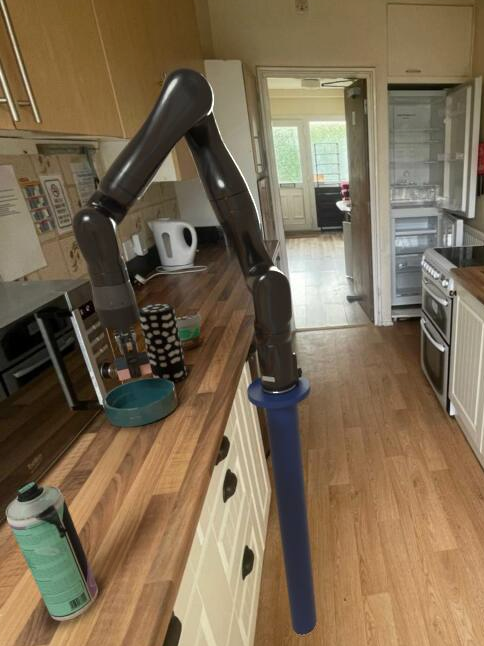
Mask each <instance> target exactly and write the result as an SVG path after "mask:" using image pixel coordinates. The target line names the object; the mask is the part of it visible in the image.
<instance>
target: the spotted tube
mask: <svg viewBox="0 0 484 646" xmlns="http://www.w3.org/2000/svg"><path fill="white" fill-rule="evenodd" d="M138 310H139V314H140V320H139V322H140V327H141V331H142V335H143V336H142V337H143V339H144V343H145V348H146V354H147V356H148V359H149V363H150V367H151V371H152V373H151V374H152V378H163V379H168V380H170V381H172V382H173V383H175V382H178V381H181V380H183V379H185V377H187V375H188V372H187V368H186V367H187V366H186V361H185V356H184V350H182V346H181V341H180V336H179V331H178V326H177V321H176V318H177V316H176V311H175V306H174V304H172V303H170V302H155V303H149V304H145V305H143V306H140V307H138Z"/></svg>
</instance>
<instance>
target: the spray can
mask: <svg viewBox="0 0 484 646" xmlns="http://www.w3.org/2000/svg"><path fill="white" fill-rule="evenodd" d="M5 515H6V521H7V522H8V525H9V526H10V529H11V532H12V534H13V536H14V538H15V540H16V542H17V545H18V547H19V549H20V551H21V554H22V556H23V558H24V560H25V562H26V564H27V567H28V569H29V572H30V573H31V576H32V578H33V580H34V582H35V584H36V587H37V589H38V591H39V593H40V594H41V597H42V600H43V601H44V605H45V607H46V609H47V611H48V613H49V616H51V618H52V619H53V620H56V621H60V622H62V621H67V620H68V621H69V620H71V619H74V618H76V617H78V616H80V615H81V614H83V613H84V612H85V611H87V610H88V609H89V608H90V607H91V606H92V605H93V604H94V603H95V600H96V599H97V597H98V594H99V589H98V585H97V582H96V579H95V577H94V574H93V571H92V569H91V566H90V563H89V561H88V558H87V555H86V553H85V549H84V547H83V545H82V541H81V539H80V537H79V534H78V531H77V528H76V526H75V524H74V523H75V522H74V521H73V518H72V515H71V513H70V510H69V508H68V504H67V502H66V499H65V497H64V494H63V493H62V492H61V490H60V489H59V488H58V487H56V486H52V485H49V486H41V485H40V486H39V485H38V484H37V482H36V481H34V480H33V481H32V480H31V481H27V482H24V483H23V484H22V485H21V486H20V487H19V488H18V494H17V496H16V498H14V499H13V500H12V501H11V502H10V503H9V504H8V506H7V507H6V510H5Z"/></svg>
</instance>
